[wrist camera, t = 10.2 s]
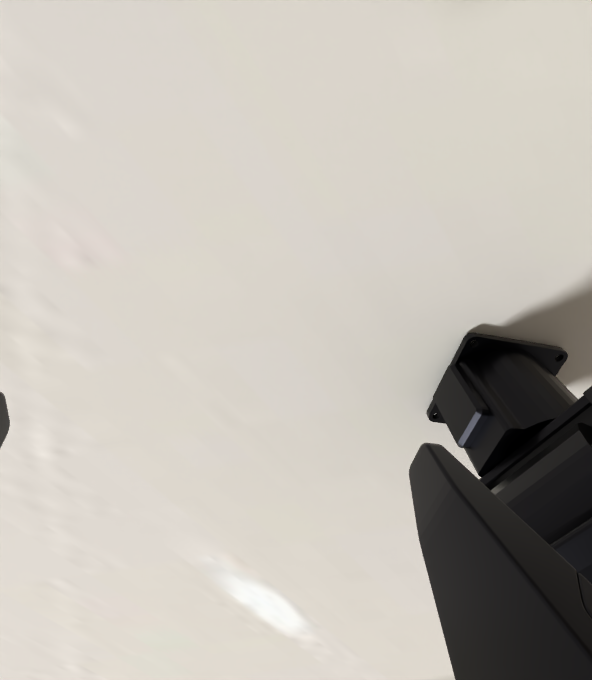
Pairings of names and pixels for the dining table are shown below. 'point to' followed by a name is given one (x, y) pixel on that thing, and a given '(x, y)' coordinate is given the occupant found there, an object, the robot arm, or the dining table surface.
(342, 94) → the dining table surface
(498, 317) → the dining table surface
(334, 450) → the dining table surface
